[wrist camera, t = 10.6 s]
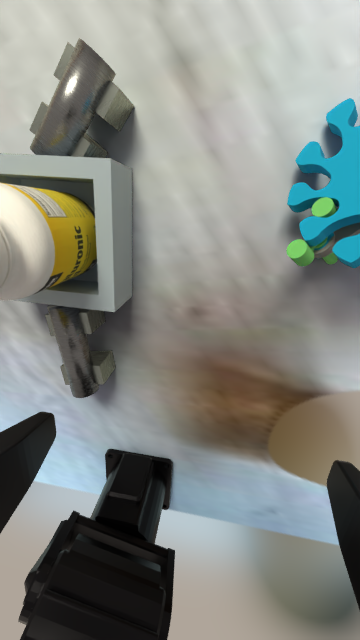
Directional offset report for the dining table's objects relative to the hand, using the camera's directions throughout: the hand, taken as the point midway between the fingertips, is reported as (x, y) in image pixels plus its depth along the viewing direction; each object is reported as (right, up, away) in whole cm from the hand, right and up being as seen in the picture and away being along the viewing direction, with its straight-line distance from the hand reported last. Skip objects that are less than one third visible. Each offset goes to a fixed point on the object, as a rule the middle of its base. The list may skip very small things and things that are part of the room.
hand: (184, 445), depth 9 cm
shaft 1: (-6, +16, +8) cm, 19 cm away
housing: (-8, +10, +11) cm, 17 cm away
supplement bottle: (-8, +10, +11) cm, 16 cm away
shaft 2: (-7, +3, +14) cm, 16 cm away
